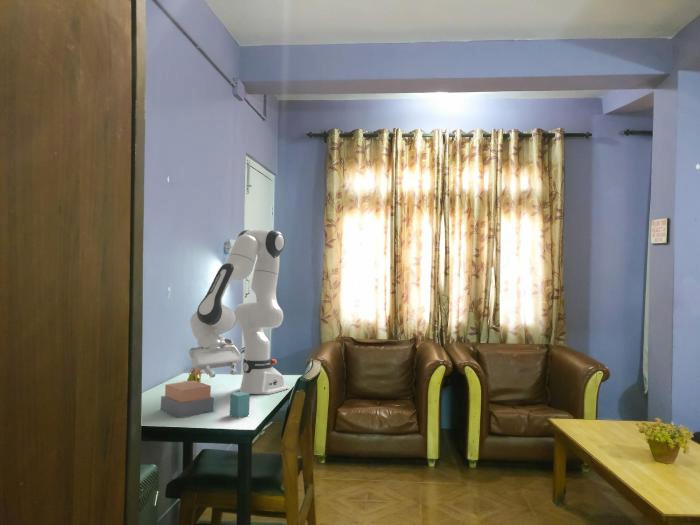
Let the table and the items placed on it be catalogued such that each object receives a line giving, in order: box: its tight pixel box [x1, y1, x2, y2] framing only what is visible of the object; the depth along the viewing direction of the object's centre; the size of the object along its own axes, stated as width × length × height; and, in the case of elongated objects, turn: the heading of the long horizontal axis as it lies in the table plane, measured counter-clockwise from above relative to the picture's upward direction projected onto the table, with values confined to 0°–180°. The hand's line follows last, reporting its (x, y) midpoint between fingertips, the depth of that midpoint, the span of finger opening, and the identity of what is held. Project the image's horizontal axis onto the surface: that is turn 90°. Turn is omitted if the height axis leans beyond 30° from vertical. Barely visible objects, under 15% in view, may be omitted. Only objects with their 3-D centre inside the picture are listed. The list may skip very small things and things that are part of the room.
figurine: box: [188, 366, 209, 382], centre depth 229 cm, size 8×6×12 cm
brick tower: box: [160, 381, 215, 419], centre depth 198 cm, size 14×14×10 cm
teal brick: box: [229, 391, 251, 419], centre depth 193 cm, size 5×5×8 cm
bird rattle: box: [186, 367, 202, 383], centre depth 247 cm, size 6×11×9 cm
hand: (224, 375), depth 201 cm, fingers open, 8 cm apart
